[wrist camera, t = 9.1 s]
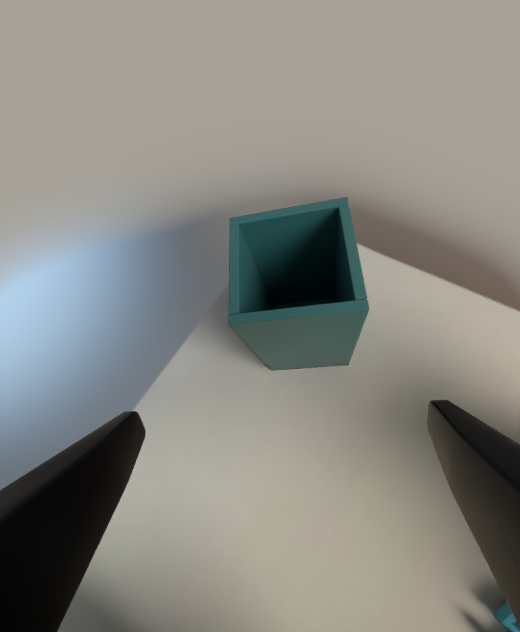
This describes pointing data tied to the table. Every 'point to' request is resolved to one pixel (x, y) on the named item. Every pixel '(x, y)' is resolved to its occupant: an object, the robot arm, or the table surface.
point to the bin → (297, 285)
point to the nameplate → (507, 618)
